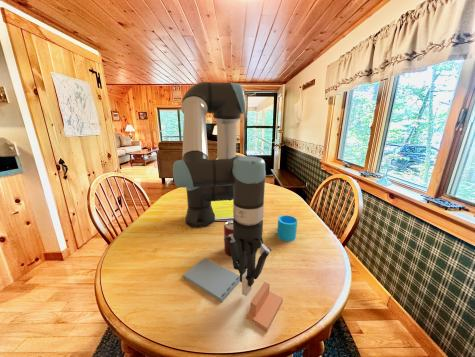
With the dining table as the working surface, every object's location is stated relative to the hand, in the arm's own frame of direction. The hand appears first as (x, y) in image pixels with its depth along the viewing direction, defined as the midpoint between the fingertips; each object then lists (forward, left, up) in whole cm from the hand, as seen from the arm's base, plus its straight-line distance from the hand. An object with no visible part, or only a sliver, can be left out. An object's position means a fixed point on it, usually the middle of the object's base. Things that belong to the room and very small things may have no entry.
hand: (246, 291), depth 56 cm
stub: (+6, 0, -2) cm, 7 cm away
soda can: (-15, +15, -2) cm, 21 cm away
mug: (-3, +39, -2) cm, 39 cm away
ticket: (-13, 0, -2) cm, 13 cm away
